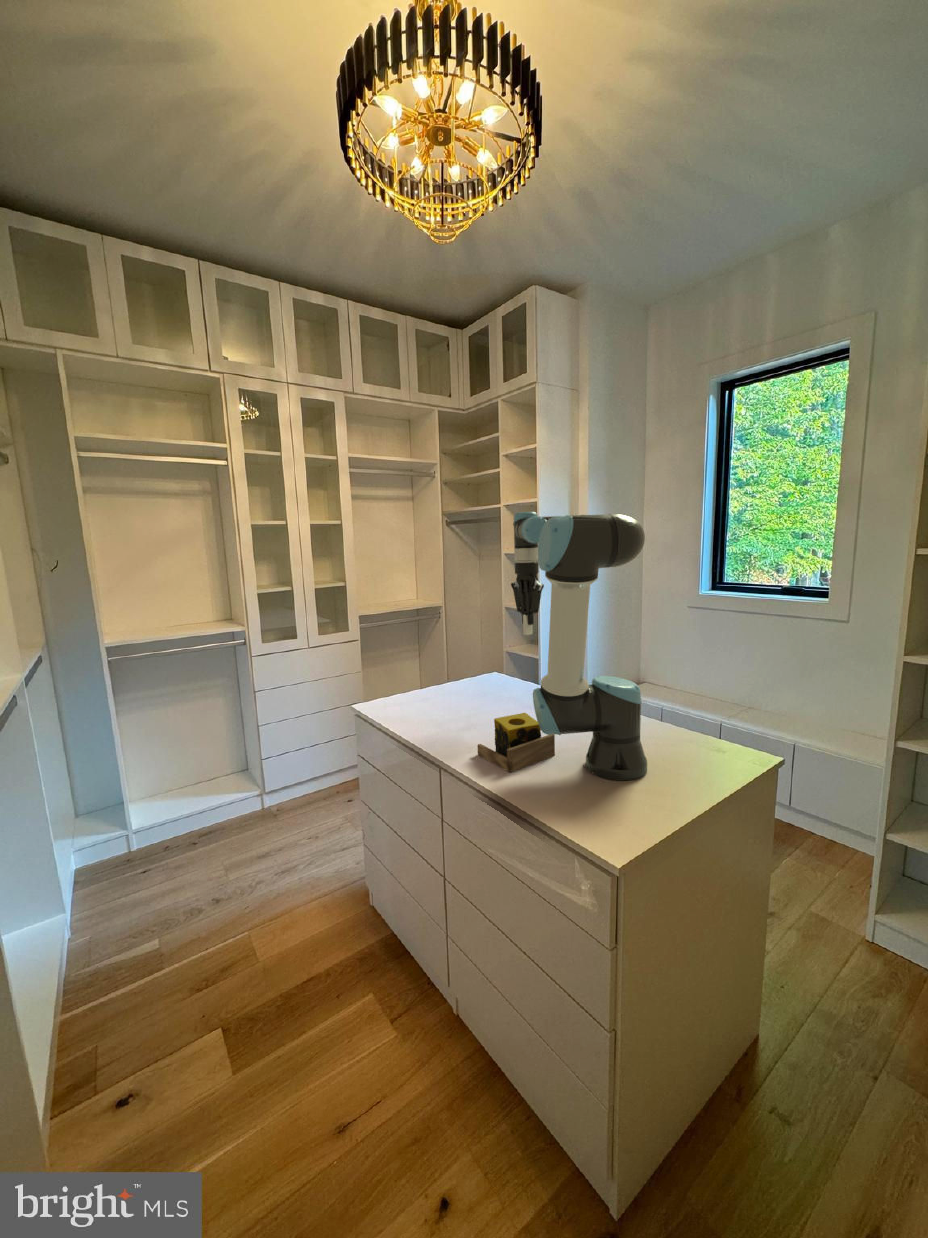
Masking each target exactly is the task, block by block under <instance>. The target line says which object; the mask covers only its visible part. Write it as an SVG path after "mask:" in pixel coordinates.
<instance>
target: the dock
mask: <svg viewBox="0 0 928 1238" xmlns="http://www.w3.org/2000/svg"><path fill="white" fill-rule="evenodd" d="M555 736H556V734H554V735H547V734H546V735H545V736H541V738H538V739H535V740H532V741H529V742H527V743H524V744H521V745H518V746H515V747H512V748H509V749H507V757H505V756H503V755H501V754H499V753H497V752H496V750H493V749H491V748H489V747H487V746H486V745H484V744H482V743H479V744H477V755H478V757H481V758H483V759H484V760H486V761H489V762H490V763H492V764H494V765H496V766H497V765H498V766H497V767H499V768H501V769H503V770H504V769H505V770H504V771H506V772H507V773H508V772H509V773H512V772H515V771H518V770H520V769H523V768H526V767H528V766H532V765H535V764H537V763H538V762H539V763H540V762H541V761H544V760H546V759H549V758H552V757H555V755H556V750H555V749H556V748H555V746H556V745H555V744H556V743H555V742H556V741H555Z"/></svg>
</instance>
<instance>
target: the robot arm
mask: <svg viewBox="0 0 928 1238" xmlns="http://www.w3.org/2000/svg"><path fill="white" fill-rule="evenodd" d="M512 525H513V541H514V542H513V544H514V545H513V547H514V551H513V552H514V562H515V563H514V574H515V575H516V578H515V581H514V582H511V584H510V586H511V588H512V590H513V596H514V600H515V601H514V602H515V608H516V611H517V612H518V613H520V614H521V623H522V625H523V626H522V627H523V636H531V635H533V632H534V631H533V629H534V628H533V625H534V623H535V622H534V620H535V619H534V615H535V614H538V613H539V611H540V610H539V609H540V605H541V604H540V603H541V598H542V592H543V590H544V587H545V584H544V583H540V582H539V579H538V576H537V575H538V574H539V572H540V571H539V569H540V570H541V571H543V572H544V575H545V576H544V577H545V578H546V579H547V580H548V581H549V582H550V584H551V587H550V588H551V592H550V608H549V609H550V611H549V632H548V633H549V634H548V635H549V636H548V652H547V653H548V655H547V657H548V658H547V674H546V675H544V676H542V678H541V681H540V687H536V688H534V689H533V691H532V702H533V709H534V713H535V717H536V721H538V724H539V727H540V729H541V733H543V734H544V735H546V736H547V735H558V736H561V735H567V734H581V733H591V732H592V738H591V741H590V744H589V747H588V748H587V753H586V755H585V767H586V768H587V771H589V772H591V773H592V774H594V775H596V776H597V777H600V778H604V779H607V780H613V781H631V780H637V779H640V778H642V777H644V776H645V775H646V774H647V773H648V760H647V758H646V754H645V751H644V747H643V745H642V740H641V723H642V722H641V720H642V718H641V715H642V711H641V710H642V698H641V697H642V696H641V688H640V686H639V685H638V684H636V683H635V682H634V681H632V680H629V679H625V678H621V677H616V676H609V675H599V676H594V677H593V678H592V680H591V684H590V683H589V681H588V680H587V679H586V678H585V677H584V673H585V671H584V670H585V657H586V647H587V646H586V644H587V631H588V620H589V619H588V618H589V608H590V607H589V605H590V594H591V591H590V590H591V586H592V584H593V583H594V582H596V581H597V580H598V579H599V570H600V569H603V568H604V569H606V568H607V569H608V568H616V567H620V566H621V567H622V566H623V565H626V564H628V563H630V562H631V561H633V560H635V559H636V558H637V557H638V556H639V554H640V553H641V552H642V550H643V548H644V545H645V542H646V536H645V535H646V533H645V531H644V528H643V527H642V525H641V523H640V522H639V521H638V520H636V519H634V518H633V517H631V516H629V515H628V516H627V515H626V514H625V515H624V514H619V513H608V514H578V515H577V514H575V515H573V514H572V515H571V514H570V515H569V514H566V515H559V516H558V515H557V516H556V515H553V516H538V513H537V512H535V511H520V512H515V513H514V515H513V523H512Z"/></svg>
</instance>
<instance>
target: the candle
mask: <svg viewBox="0 0 928 1238" xmlns="http://www.w3.org/2000/svg"><path fill="white" fill-rule="evenodd" d="M493 722H494V723H493V724H494V745H495V752H497V753H499V754H501V755H503V756H505V757H507V749H509V748H512V747H515V746H518V745H521V744H524V743H527V742H529V741H532V740H535V739H538V738H541V737H542V730H541V729H540V727H539V724H538V721H537V719H535V718H533V717H532V716H531V715H530V714H528V713H527V712H520V713H516V714H511V715H506V716H505V715H504V716H500V717H496V718H494V719H493Z"/></svg>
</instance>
